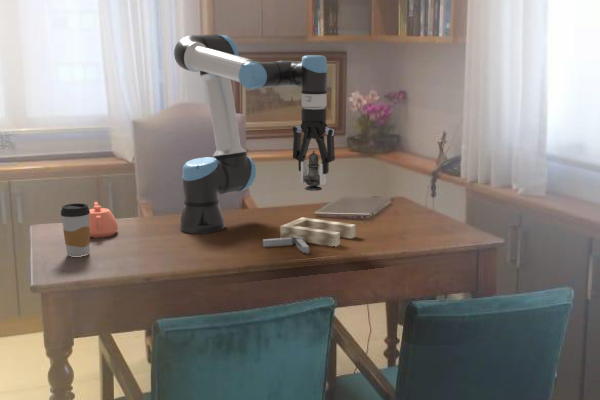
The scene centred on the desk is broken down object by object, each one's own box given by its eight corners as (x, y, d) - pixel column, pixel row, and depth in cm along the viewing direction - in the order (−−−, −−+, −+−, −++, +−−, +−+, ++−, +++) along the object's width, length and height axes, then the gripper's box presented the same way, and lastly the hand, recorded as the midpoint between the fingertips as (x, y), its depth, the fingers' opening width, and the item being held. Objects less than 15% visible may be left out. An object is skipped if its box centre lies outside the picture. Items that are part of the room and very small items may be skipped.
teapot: (80, 242, 237) (78, 213, 235) (79, 228, 253) (77, 201, 251) (119, 238, 240) (117, 210, 238) (116, 225, 257) (114, 198, 255)
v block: (277, 239, 238) (277, 233, 238) (323, 246, 230) (323, 240, 229) (260, 246, 230) (260, 240, 229) (307, 254, 221) (307, 247, 221)
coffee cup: (82, 249, 228) (78, 201, 225) (98, 254, 223) (95, 205, 220) (58, 255, 222) (54, 206, 219) (74, 260, 217) (70, 210, 214)
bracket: (280, 238, 239) (280, 226, 238) (302, 228, 250) (302, 217, 249) (335, 246, 229) (335, 234, 228) (355, 236, 240) (355, 224, 239)
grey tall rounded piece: (321, 191, 226) (322, 152, 223) (302, 190, 227) (302, 151, 224) (324, 187, 232) (324, 149, 229) (305, 186, 233) (305, 148, 230)
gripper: (280, 107, 225) (280, 182, 230) (336, 110, 216) (335, 188, 221) (292, 104, 231) (292, 177, 237) (347, 108, 222) (346, 183, 228)
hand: (313, 182), depth 229 cm, fingers closed on grey tall rounded piece, 6 cm apart
